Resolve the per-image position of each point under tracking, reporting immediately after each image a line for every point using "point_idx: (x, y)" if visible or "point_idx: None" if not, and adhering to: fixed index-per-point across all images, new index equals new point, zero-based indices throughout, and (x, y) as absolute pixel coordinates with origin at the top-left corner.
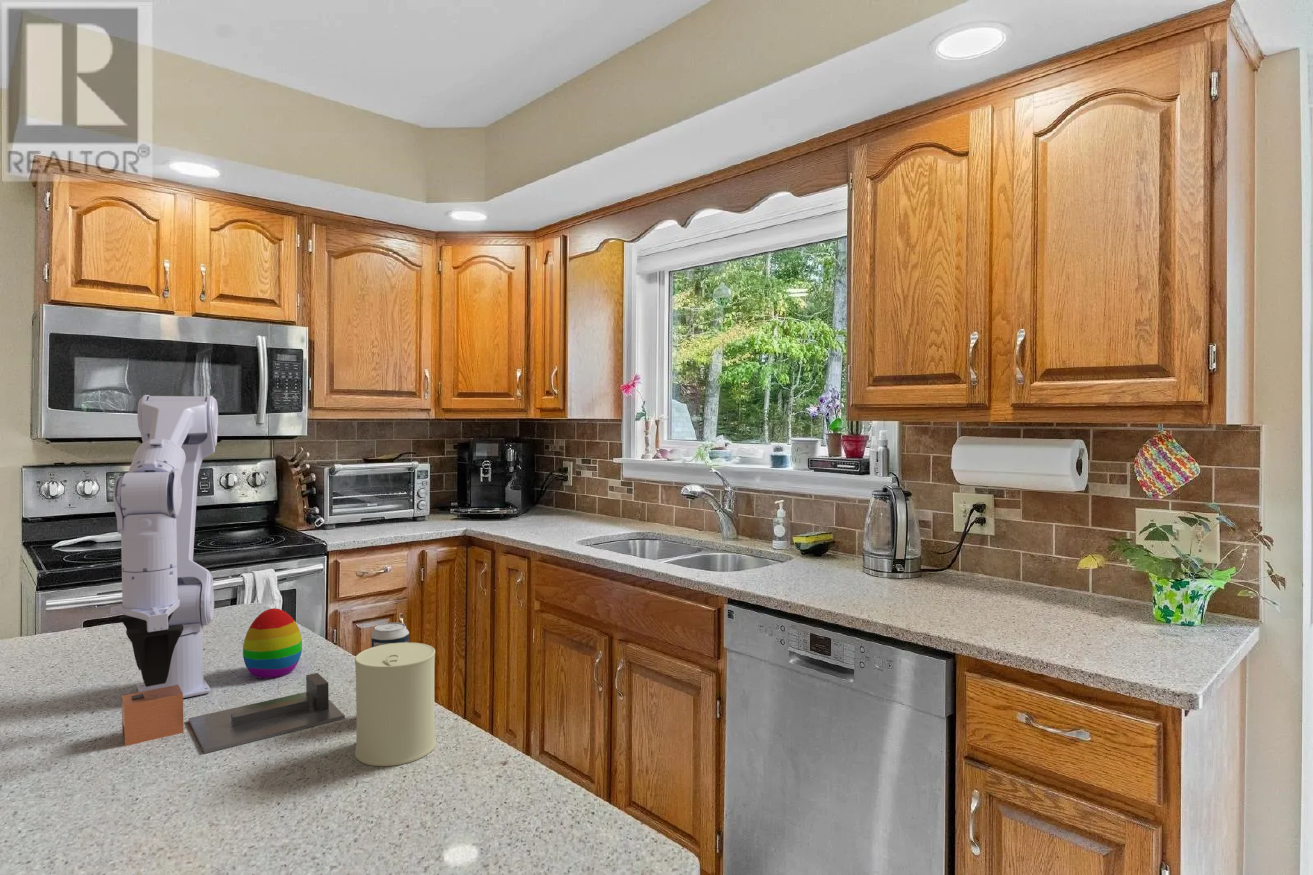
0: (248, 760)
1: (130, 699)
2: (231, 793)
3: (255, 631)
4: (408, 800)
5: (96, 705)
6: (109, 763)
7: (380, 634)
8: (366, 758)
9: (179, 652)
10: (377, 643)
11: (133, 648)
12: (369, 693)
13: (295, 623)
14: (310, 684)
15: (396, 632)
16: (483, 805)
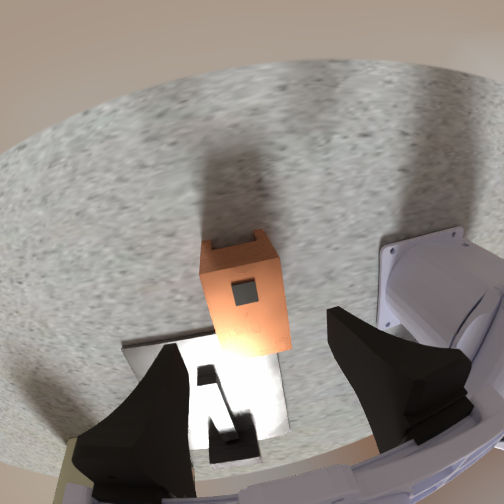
0: (92, 381)
1: (239, 280)
2: (24, 360)
3: None
4: (22, 433)
5: (428, 174)
6: (132, 230)
7: None
8: (71, 442)
9: (426, 338)
10: None
11: (357, 335)
12: (57, 490)
13: None
14: (238, 454)
15: None
16: (21, 449)
